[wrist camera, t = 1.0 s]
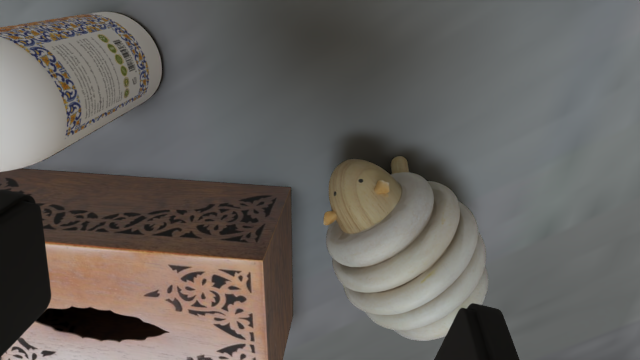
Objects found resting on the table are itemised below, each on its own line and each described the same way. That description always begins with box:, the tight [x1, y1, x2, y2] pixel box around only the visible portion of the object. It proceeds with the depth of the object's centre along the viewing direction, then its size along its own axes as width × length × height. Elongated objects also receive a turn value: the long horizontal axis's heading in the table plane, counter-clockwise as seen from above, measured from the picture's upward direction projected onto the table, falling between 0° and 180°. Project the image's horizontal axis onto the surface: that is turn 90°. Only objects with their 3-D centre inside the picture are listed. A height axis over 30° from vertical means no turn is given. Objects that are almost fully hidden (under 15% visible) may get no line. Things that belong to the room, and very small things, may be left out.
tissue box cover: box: [0, 169, 293, 360], centre depth 35 cm, size 26×14×10 cm, turn 89°
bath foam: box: [0, 12, 162, 172], centre depth 23 cm, size 7×7×20 cm
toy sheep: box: [324, 156, 488, 341], centre depth 30 cm, size 11×17×11 cm, turn 40°
